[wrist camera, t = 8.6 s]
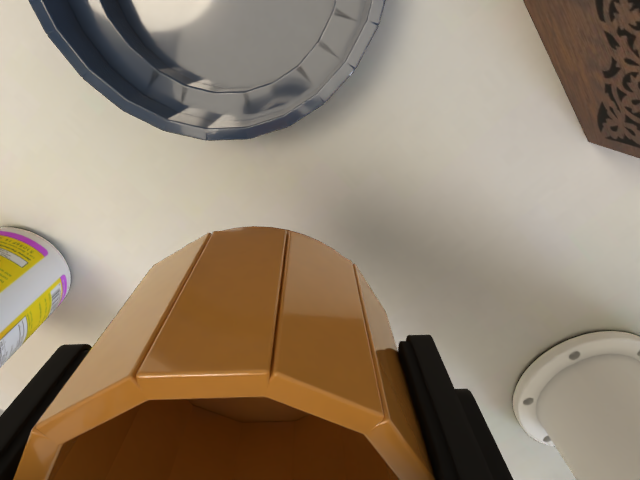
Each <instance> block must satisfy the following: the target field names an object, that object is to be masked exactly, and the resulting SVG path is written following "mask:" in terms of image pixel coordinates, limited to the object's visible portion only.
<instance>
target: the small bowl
mask: <svg viewBox="0 0 640 480" xmlns="http://www.w3.org/2000/svg"><path fill="white" fill-rule="evenodd" d="M13 480H436V478H435V474H434V471H433V468H432V464H431V461H430V458H429V454H428V451H427V448H426V444H425V441H424V438H423V434H422V431H421V428H420V424H419V421H418V418H417V414H416V411H415V408H414V404H413V401H412V398H411V394H410V391H409V388H408V384H407V381H406V377H405V374H404V371H403V367H402V364H401V361H400V357H399V354H398V351H397V347H396V344H395V341H394V337H393V334H392V331H391V327H390V324H389V321H388V317H387V314H386V311H385V310H384V308H383V307H382V305H381V303H380V302H379V300H378V299H377V297H376V296H375V294H374V292H373V291H372V289H371V288H370V286H369V285H368V283H367V281H366V280H365V278H364V277H363V275H362V274H361V272H360V270H359V269H358V267H357V266H356V265H355V264H353V263H352V261H351V260H349V259H347V258H345V257H343V256H342V255H341V254H339V253H338V252H337V251H335V250H334V249H332V248H331V247H329V246H327V245H325V244H324V243H322V242H320V241H318V240H316V239H313V238H311V237H309V236H306V235H304V234H300V233H297V232H293V231H290V230H285V229H279V228H273V227H254V226H252V227H240V228H232V229H228V230H223V231H214V232H213V233H212V234H211V233H207V234H206V235H204V236H202V237H201V238H199V239H197V240H195V241H193V242H191V243H189V244H188V245H186V246H185V247H183V248H182V249H180V250H179V251H177V252H175V253H174V254H172V255H170V256H168V257H167V258H165V259H163V260H162V261H160V262H158V263H157V264H155V265H153V267H152V268H151V269H150V270H149V271H148V273H147V274H146V275H145V277H144V278H143V279H142V281H141V282H140V284H139V285H138V286H137V288H136V289H135V290H134V292H133V293H132V294H131V296H130V297H129V298H128V300H127V301H126V302H125V304H124V305H123V306H122V308H121V309H120V311H119V312H118V313H117V315H116V316H115V317H114V319H113V320H112V321H111V323H110V324H109V325H108V327H107V328H106V329H105V331H104V332H103V334H102V335H101V336H100V338H99V339H98V340H97V342H96V343H95V344H94V346H93V347H92V348H91V350H90V351H89V352H88V354H87V355H86V356H85V358H84V359H83V361H82V362H81V363H80V365H79V366H78V367H77V369H76V370H75V371H74V373H73V374H72V375H71V377H70V378H69V379H68V381H67V382H66V384H65V385H64V386H63V388H62V389H61V390H60V392H59V393H58V394H57V396H56V397H55V398H54V400H53V401H52V402H51V404H50V405H49V406H48V408H47V409H46V411H45V412H44V413H43V415H42V416H41V417H40V419H39V420H38V421H37V423H36V424H35V425H34V427H33V428H32V429H31V432H30V435H29V437H28V440H27V443H26V445H25V448H24V451H23V454H22V456H21V459H20V462H19V464H18V467H17V470H16V473H15V475H14V478H13Z"/></svg>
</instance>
